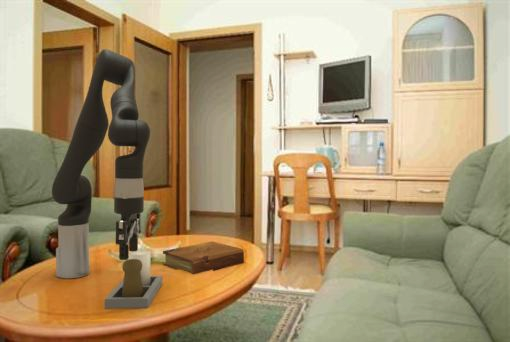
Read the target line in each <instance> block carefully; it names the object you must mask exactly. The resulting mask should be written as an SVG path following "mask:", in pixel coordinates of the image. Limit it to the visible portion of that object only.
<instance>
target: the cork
mask: <svg viewBox="0 0 510 342" xmlns="http://www.w3.org/2000/svg"><path fill="white" fill-rule="evenodd" d="M121 267H122V271H123V272H124V276H123V279H124V282H123V290H122V297H143V296H144V293H143V286H142V279H141V273H140V271H141V270H142V262H141V261H140V260H138V259H129V258H128V259H127V260H124V261H123V263H122V266H121Z"/></svg>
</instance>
